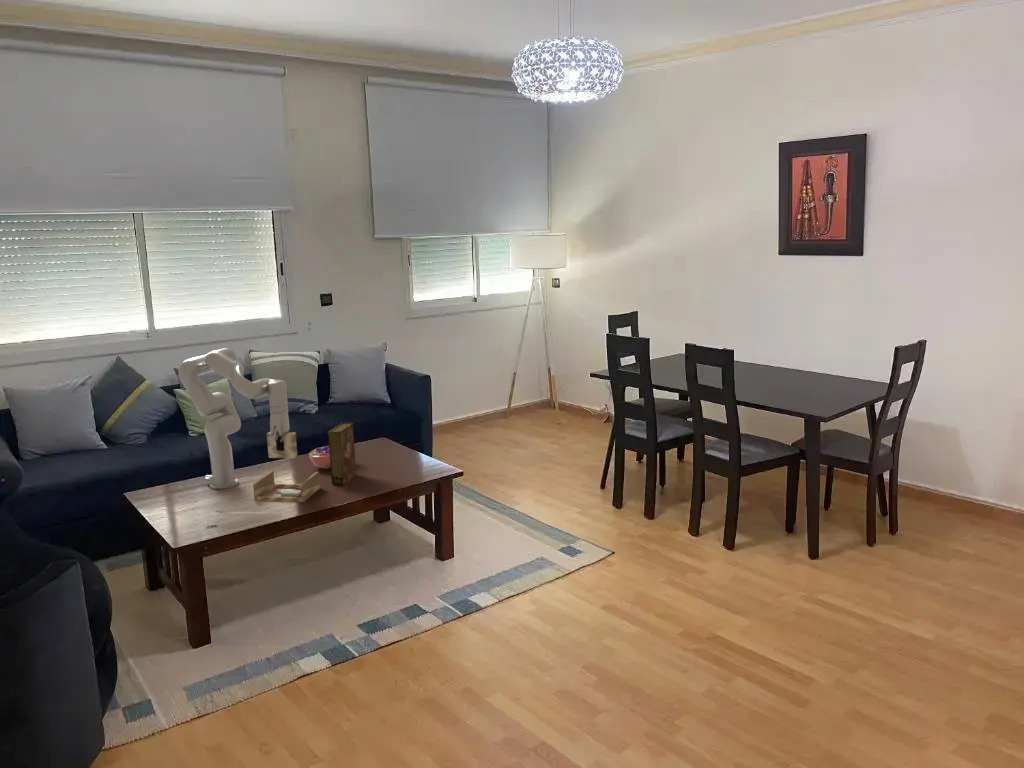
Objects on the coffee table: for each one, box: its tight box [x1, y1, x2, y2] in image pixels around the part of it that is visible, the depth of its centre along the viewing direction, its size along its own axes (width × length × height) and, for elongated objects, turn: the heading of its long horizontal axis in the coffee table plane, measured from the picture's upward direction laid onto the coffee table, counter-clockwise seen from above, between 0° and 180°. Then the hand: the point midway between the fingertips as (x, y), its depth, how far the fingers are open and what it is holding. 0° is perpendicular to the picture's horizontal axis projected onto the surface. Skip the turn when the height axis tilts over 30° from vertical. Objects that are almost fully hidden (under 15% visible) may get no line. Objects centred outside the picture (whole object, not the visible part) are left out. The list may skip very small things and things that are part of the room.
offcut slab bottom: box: [276, 491, 301, 497], centre depth 337 cm, size 12×4×1 cm, turn 81°
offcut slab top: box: [280, 489, 301, 497], centre depth 337 cm, size 8×4×1 cm, turn 82°
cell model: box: [308, 445, 331, 470], centre depth 374 cm, size 17×20×11 cm
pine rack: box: [252, 470, 321, 503], centre depth 337 cm, size 22×17×8 cm
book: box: [327, 422, 357, 486], centre depth 353 cm, size 16×6×25 cm, turn 168°
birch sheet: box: [266, 431, 298, 459], centre depth 339 cm, size 12×3×11 cm, turn 82°
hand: (282, 448), depth 339 cm, fingers closed on birch sheet, 3 cm apart
